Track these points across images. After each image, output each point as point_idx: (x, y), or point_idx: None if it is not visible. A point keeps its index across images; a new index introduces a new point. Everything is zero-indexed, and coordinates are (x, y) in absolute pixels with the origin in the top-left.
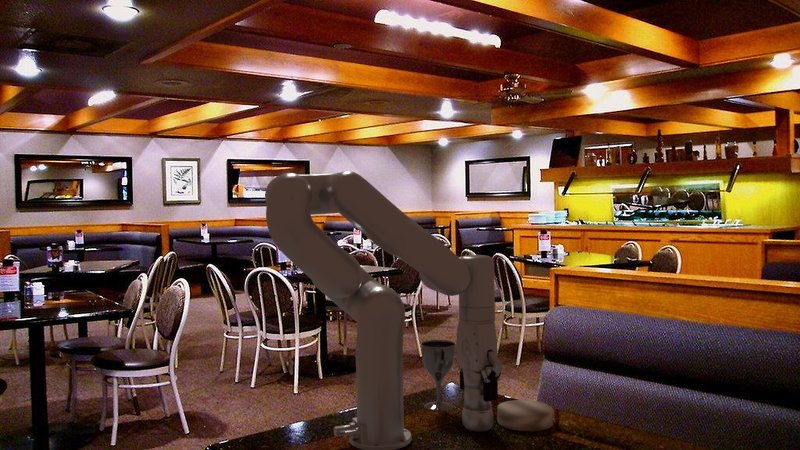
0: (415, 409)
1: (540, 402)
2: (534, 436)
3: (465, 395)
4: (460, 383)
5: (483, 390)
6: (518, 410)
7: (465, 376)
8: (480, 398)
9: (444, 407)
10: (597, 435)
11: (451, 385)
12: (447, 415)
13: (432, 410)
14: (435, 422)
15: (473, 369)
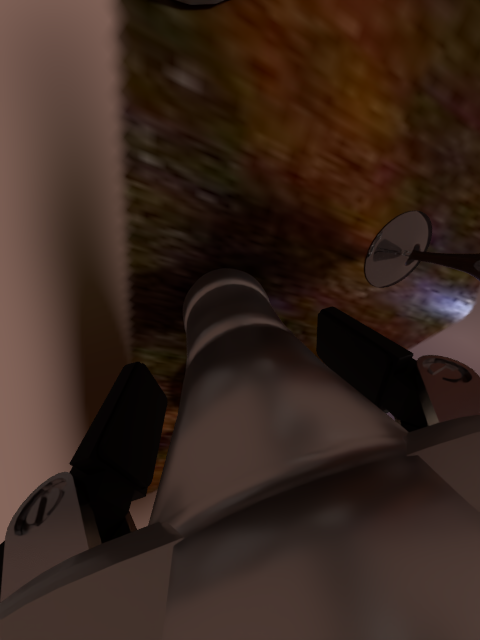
0: (422, 177)
1: None
2: (170, 385)
3: (238, 306)
4: (342, 317)
5: (110, 402)
6: None
7: (249, 375)
8: (187, 354)
9: (379, 262)
10: (168, 447)
11: (467, 311)
12: (337, 256)
13: (385, 226)
14: (307, 204)
15: (58, 597)
